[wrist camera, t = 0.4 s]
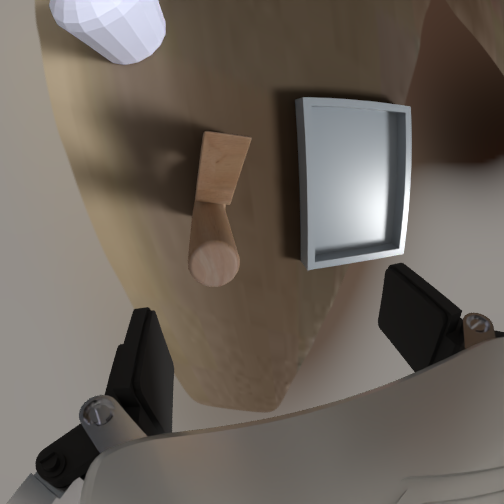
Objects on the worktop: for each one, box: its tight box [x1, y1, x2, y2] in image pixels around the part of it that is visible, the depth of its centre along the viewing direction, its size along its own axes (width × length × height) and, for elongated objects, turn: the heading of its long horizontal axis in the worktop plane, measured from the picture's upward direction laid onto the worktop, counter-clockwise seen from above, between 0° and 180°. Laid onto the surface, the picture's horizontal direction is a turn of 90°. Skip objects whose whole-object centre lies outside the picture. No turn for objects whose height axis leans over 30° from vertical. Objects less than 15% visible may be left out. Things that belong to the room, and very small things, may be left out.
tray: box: [295, 97, 411, 270], centre depth 36 cm, size 22×16×3 cm
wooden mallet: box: [188, 131, 251, 287], centre depth 27 cm, size 4×11×18 cm, turn 171°
